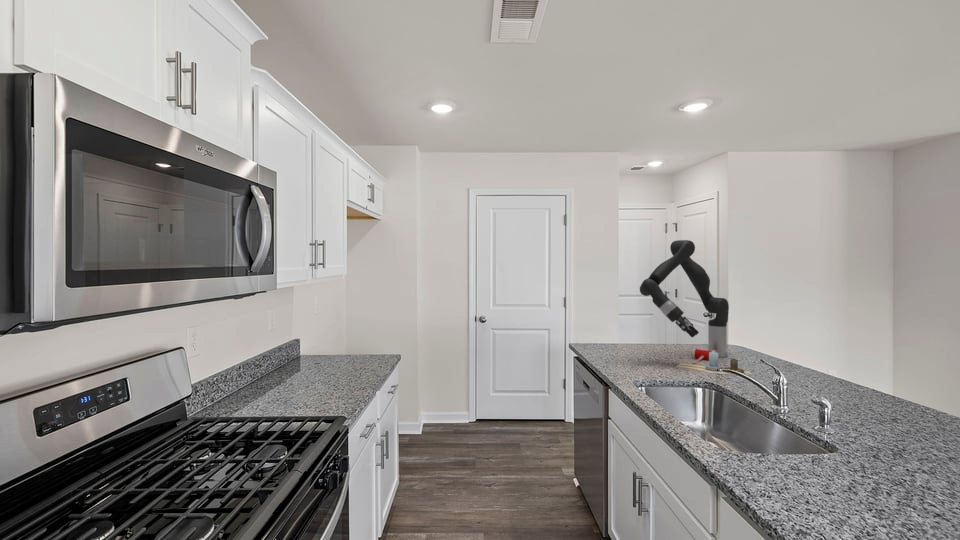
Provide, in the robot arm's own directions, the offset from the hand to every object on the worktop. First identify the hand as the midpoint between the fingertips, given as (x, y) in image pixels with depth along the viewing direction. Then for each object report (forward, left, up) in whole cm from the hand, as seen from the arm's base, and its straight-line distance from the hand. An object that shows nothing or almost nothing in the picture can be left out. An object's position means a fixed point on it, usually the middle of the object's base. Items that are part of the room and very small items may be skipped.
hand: (695, 335), depth 218 cm
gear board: (0, +7, -17) cm, 19 cm away
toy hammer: (-20, -1, -18) cm, 27 cm away
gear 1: (0, +8, -16) cm, 18 cm away
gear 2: (0, +17, -16) cm, 23 cm away
